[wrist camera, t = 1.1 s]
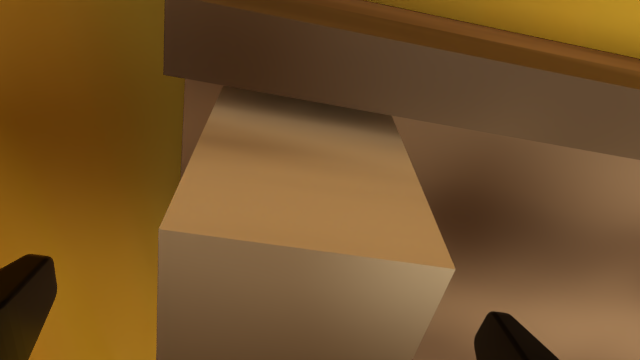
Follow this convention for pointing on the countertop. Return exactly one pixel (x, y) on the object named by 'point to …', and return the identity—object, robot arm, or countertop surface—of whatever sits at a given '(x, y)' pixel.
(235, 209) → the block
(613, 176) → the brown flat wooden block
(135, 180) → the countertop surface
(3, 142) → the countertop surface
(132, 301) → the countertop surface
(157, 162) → the countertop surface
